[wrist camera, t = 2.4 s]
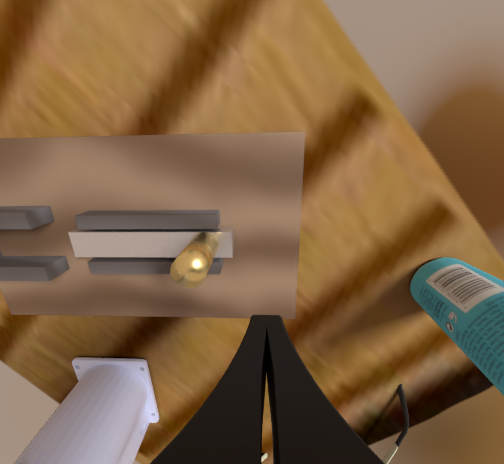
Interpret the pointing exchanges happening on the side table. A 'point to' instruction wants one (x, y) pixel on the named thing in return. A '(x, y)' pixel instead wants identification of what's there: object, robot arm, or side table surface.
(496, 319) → the tube
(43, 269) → the door board
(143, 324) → the side table surface
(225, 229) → the bolt
